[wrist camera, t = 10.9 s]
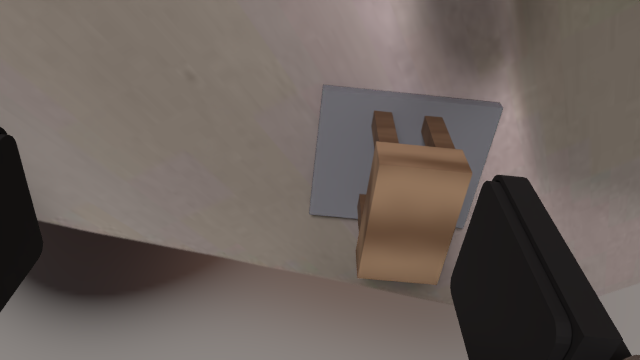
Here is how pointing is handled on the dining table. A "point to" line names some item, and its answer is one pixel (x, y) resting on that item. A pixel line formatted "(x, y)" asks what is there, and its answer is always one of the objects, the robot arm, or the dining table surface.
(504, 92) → the dining table surface
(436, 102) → the mat
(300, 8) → the dining table surface
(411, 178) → the footstool
